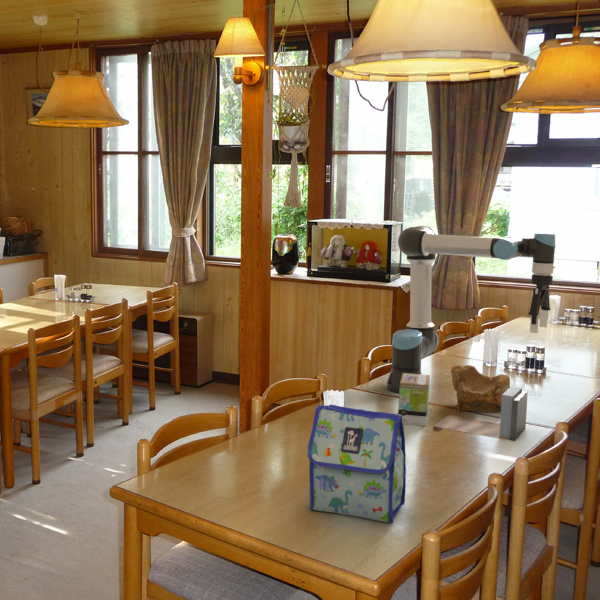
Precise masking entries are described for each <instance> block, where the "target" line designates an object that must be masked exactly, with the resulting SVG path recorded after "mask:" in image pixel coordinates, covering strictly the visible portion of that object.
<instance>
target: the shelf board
mask: <svg viewBox="0 0 600 600" xmlns="http://www.w3.org/2000/svg"><path fill="white" fill-rule="evenodd" d="M443 429H445V430H451V431H455V432H456V431H457V432H463V433H468V434H473V435H479V436H484V437H489V438H495V439H500V440H504V441H505V440H506V441H512V442H516V441H517V439H516V440H512V439H509V438H504V437H500V423H499V422H498V423H497V422H494V421H493V422H490V421H486V420H481V419H475V418H474V419H473V418H468V417H463V416H458V415H452V414H448V415H446V416H444V418H442V419H441V420H440V421H439V422H437V423H436V424H434V426H433V430H437V431H440V432H441V431H442V430H443ZM526 429H527V428H526V427H525V430H526ZM522 434H523V432H522V433H521V435H522Z"/></svg>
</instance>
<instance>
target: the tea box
mask: <svg viewBox="0 0 600 600" xmlns="http://www.w3.org/2000/svg"><path fill="white" fill-rule="evenodd" d="M430 381H431V380H430V375H429V374H422V373H421V374H409V373H403V374H402V378H401V381H400V390H399V393H398V408H397V409H398V410H397V411H398V412H397V413H398V414H397V415H401V416H402V422H403V425H405V426H407V425H408V426H418V427H419V426H420V427H426V426H427V421H428V414H429V399H430V396H429V395H430Z"/></svg>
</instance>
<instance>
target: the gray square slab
mask: <svg viewBox="0 0 600 600" xmlns="http://www.w3.org/2000/svg"><path fill="white" fill-rule="evenodd" d="M528 394H529V392H528V390H523V389H522V391H521V392H520V393H519V394H518V395H517V396H516V397H515V398H514V399H513V400H512V414H511V431H510V439H512V440H516V441H517V440H518V438H520V436H521V435H522V434H523V432H525V430H526V429H525V428H526V425H527V423H526V422H527V410H528V409H527V408H528V407H527V406H528ZM521 433H522V434H521Z"/></svg>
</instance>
